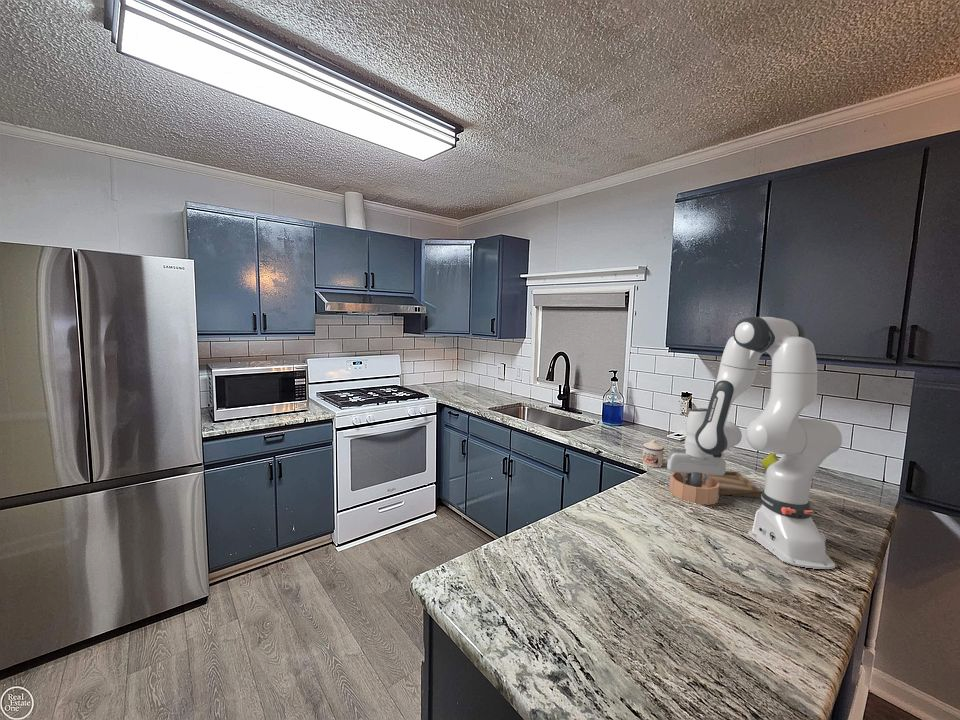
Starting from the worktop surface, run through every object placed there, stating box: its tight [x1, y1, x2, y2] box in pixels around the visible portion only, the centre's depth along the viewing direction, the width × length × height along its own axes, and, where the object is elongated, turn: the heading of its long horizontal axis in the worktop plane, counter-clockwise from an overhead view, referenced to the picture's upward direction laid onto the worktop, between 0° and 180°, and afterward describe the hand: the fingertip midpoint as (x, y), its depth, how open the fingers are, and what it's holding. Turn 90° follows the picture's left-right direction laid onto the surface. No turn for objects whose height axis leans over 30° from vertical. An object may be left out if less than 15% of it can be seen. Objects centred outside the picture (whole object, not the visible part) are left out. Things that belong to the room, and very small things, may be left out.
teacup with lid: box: [642, 439, 668, 468], centre depth 186 cm, size 12×9×12 cm
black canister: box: [687, 472, 703, 487], centre depth 155 cm, size 5×5×10 cm
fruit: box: [761, 453, 779, 471], centre depth 180 cm, size 7×7×12 cm
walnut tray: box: [710, 470, 763, 499], centre depth 165 cm, size 20×15×2 cm
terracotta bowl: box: [668, 472, 720, 505], centre depth 156 cm, size 17×17×6 cm
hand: (694, 483), depth 155 cm, fingers closed on black canister, 5 cm apart
